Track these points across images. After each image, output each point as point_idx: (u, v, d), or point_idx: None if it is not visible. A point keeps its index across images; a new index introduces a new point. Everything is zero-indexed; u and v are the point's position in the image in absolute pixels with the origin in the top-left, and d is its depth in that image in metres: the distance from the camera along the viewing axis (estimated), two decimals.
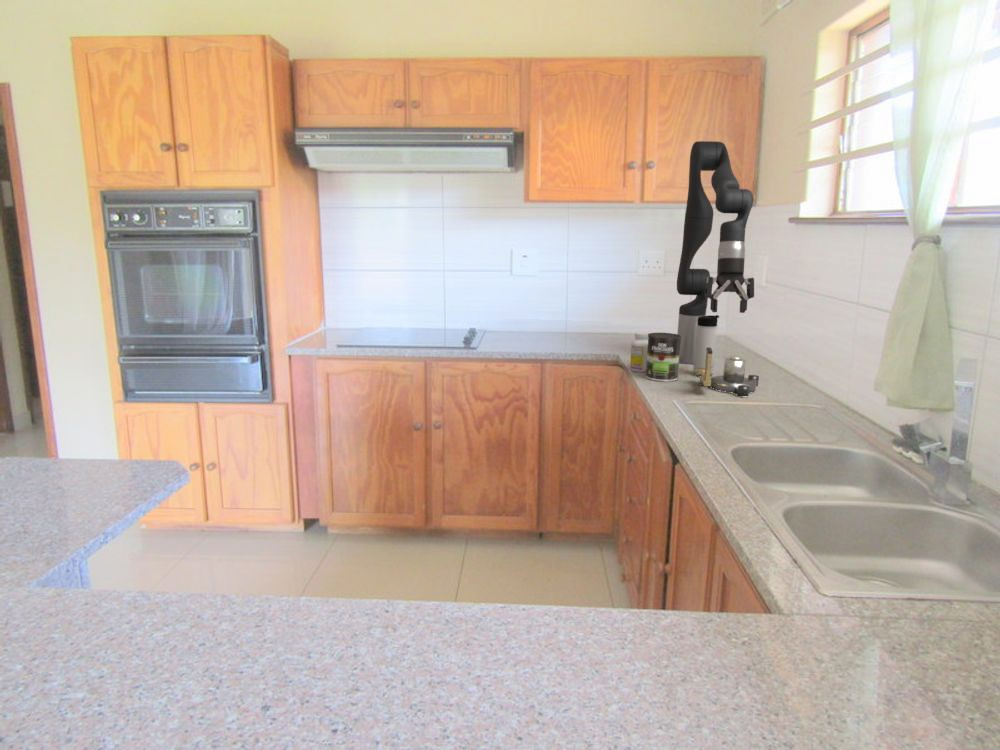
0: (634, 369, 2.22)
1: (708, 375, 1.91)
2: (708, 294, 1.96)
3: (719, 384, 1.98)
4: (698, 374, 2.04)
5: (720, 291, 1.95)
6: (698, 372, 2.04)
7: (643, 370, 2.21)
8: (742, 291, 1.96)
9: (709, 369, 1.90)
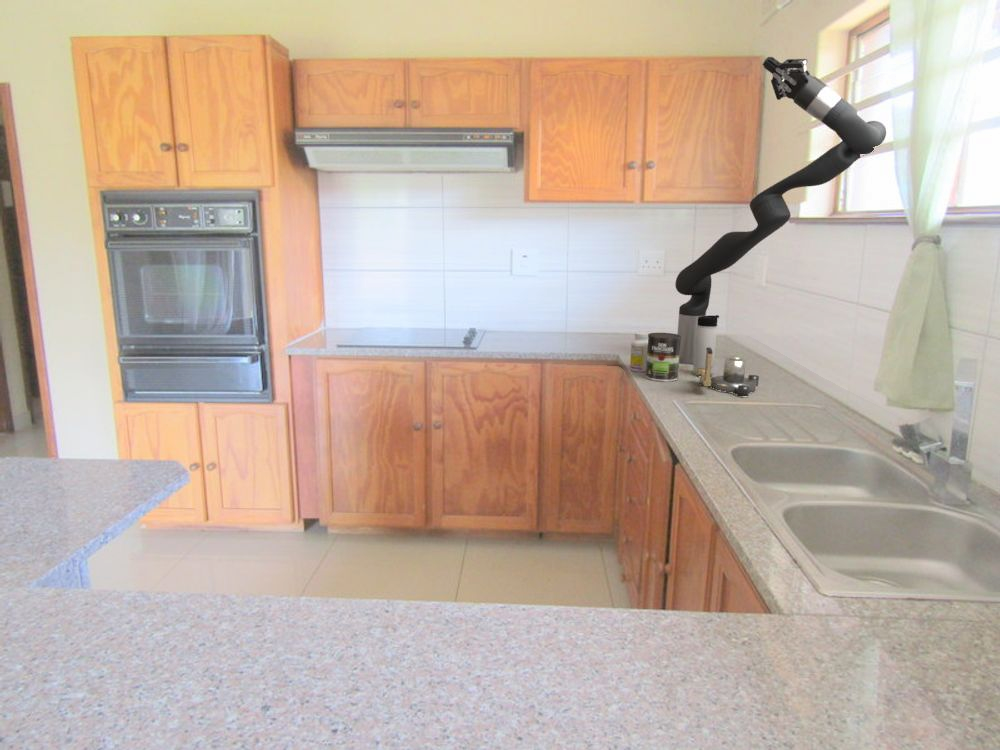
0: (634, 369, 2.22)
1: (708, 375, 1.91)
2: None
3: (719, 384, 1.98)
4: (698, 374, 2.04)
5: None
6: (698, 372, 2.04)
7: (643, 370, 2.21)
8: None
9: (709, 369, 1.90)
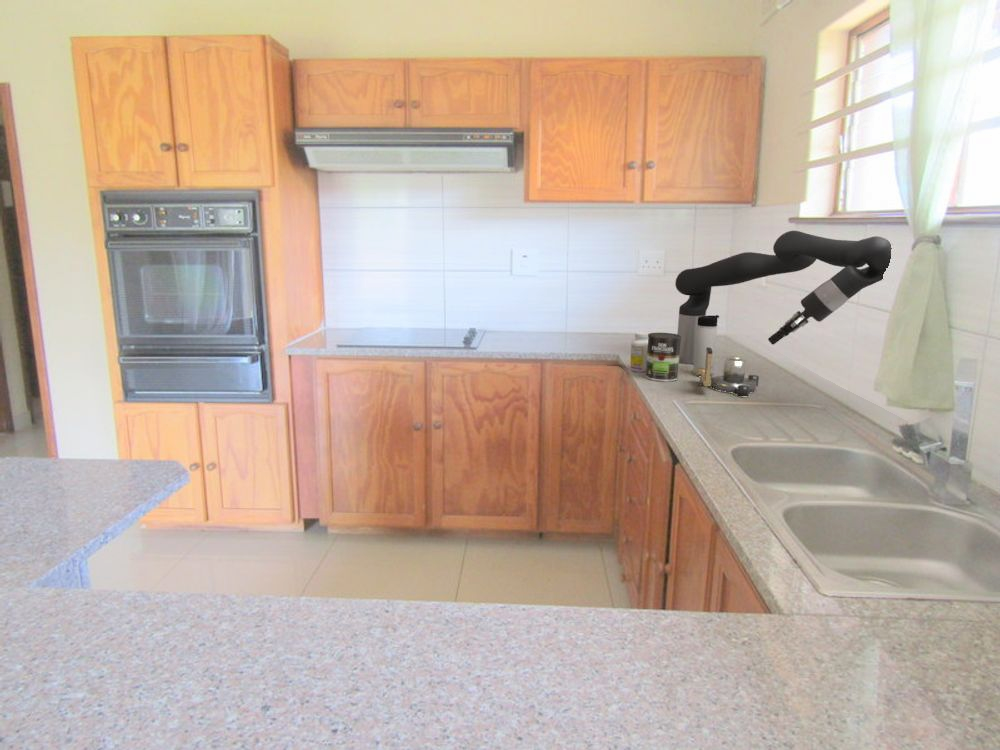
0: (634, 369, 2.22)
1: (708, 375, 1.91)
2: (784, 325, 1.82)
3: (719, 384, 1.98)
4: (698, 374, 2.04)
5: None
6: (698, 372, 2.04)
7: (643, 370, 2.21)
8: None
9: (709, 369, 1.90)
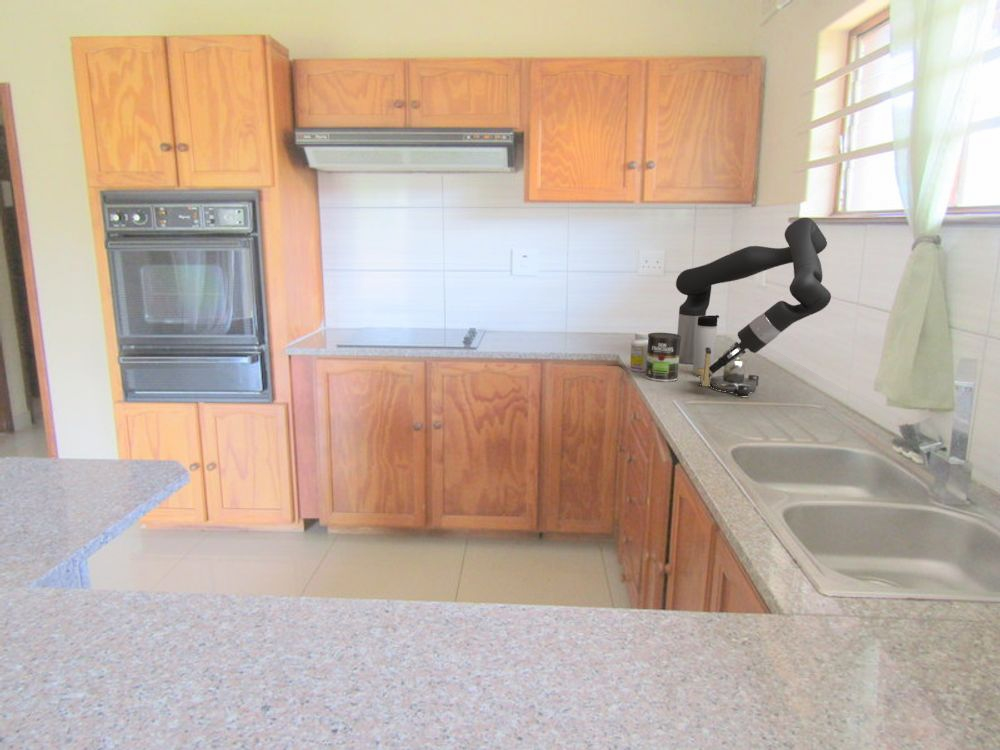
0: (634, 369, 2.22)
1: (706, 375, 1.91)
2: None
3: (719, 384, 1.98)
4: (698, 374, 2.04)
5: None
6: (698, 372, 2.04)
7: (643, 370, 2.21)
8: (724, 352, 1.88)
9: (707, 369, 1.91)
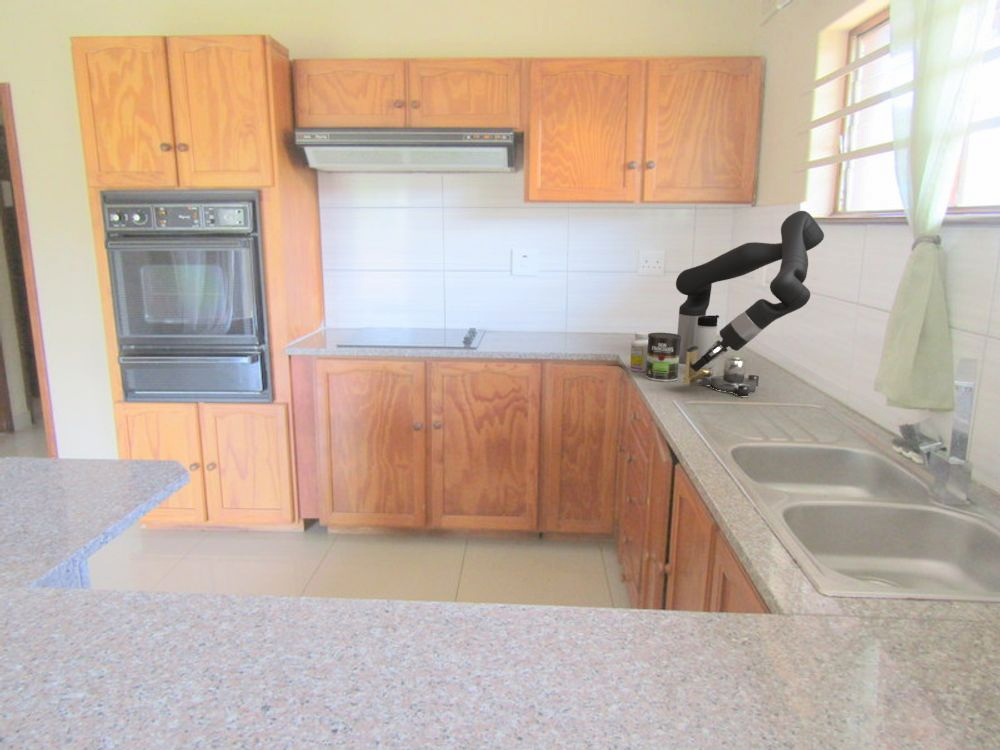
0: (634, 369, 2.22)
1: (687, 373, 1.93)
2: None
3: (719, 384, 1.98)
4: None
5: None
6: None
7: (643, 370, 2.21)
8: (707, 350, 1.90)
9: (688, 367, 1.93)
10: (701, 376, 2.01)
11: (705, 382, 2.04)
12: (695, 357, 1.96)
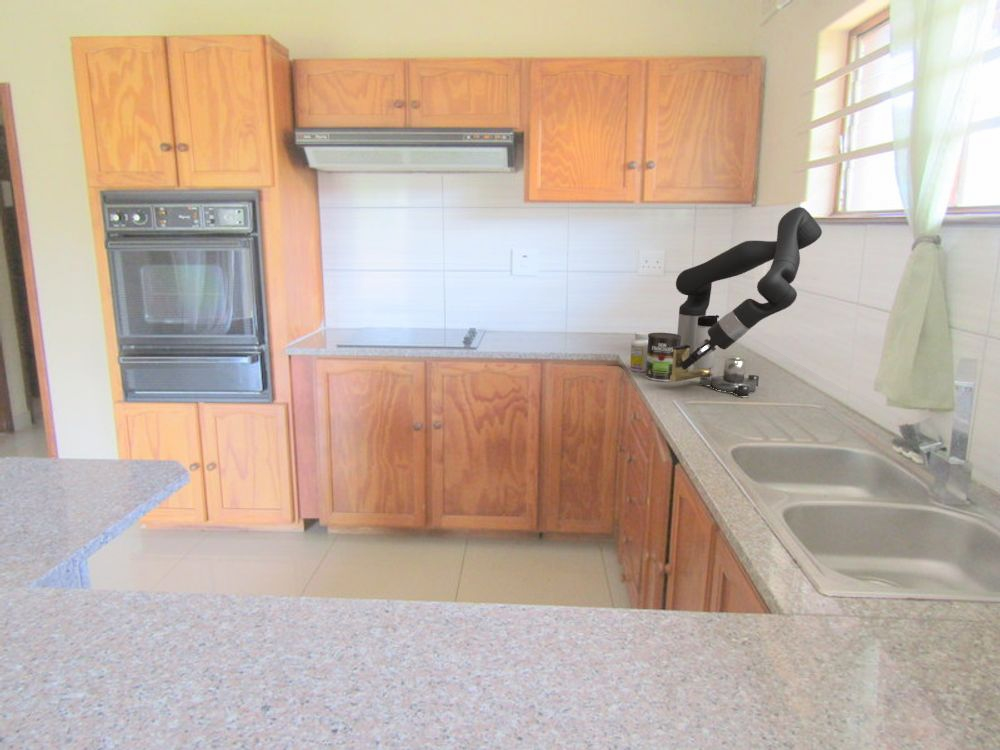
0: (634, 369, 2.22)
1: (673, 370, 1.96)
2: None
3: (719, 384, 1.98)
4: None
5: None
6: None
7: (643, 370, 2.21)
8: (695, 349, 1.93)
9: (674, 364, 1.96)
10: (696, 375, 2.02)
11: (705, 382, 2.04)
12: (685, 355, 1.98)
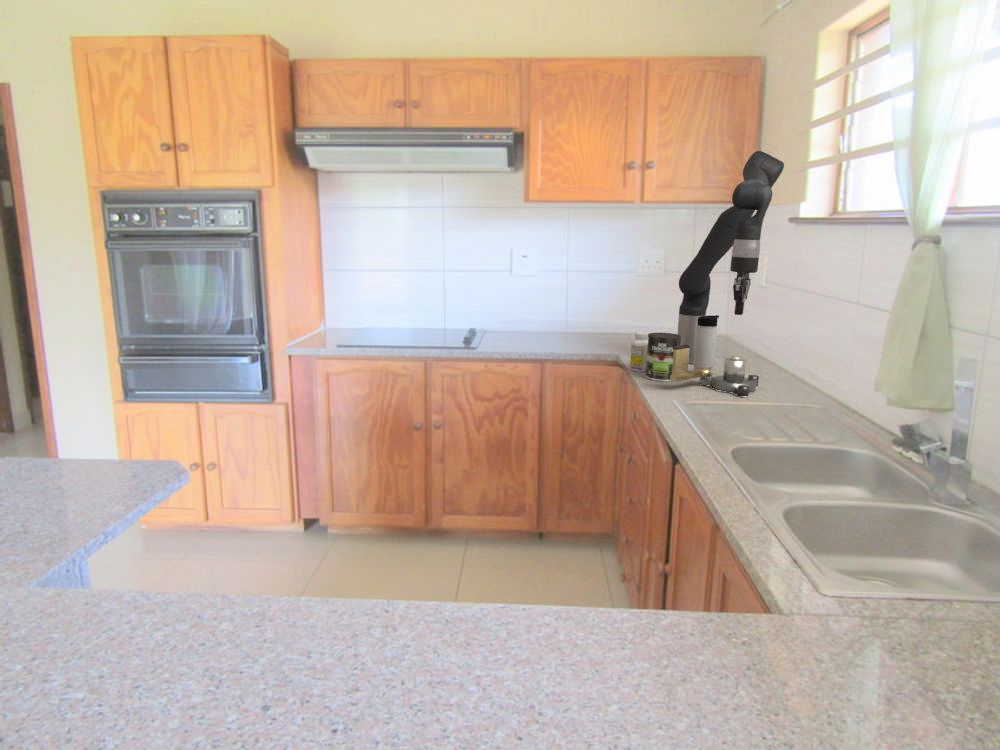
0: (634, 369, 2.22)
1: (673, 370, 1.96)
2: None
3: (719, 384, 1.98)
4: None
5: None
6: None
7: (643, 370, 2.21)
8: None
9: (674, 364, 1.96)
10: (696, 375, 2.02)
11: (705, 382, 2.04)
12: (685, 355, 1.98)
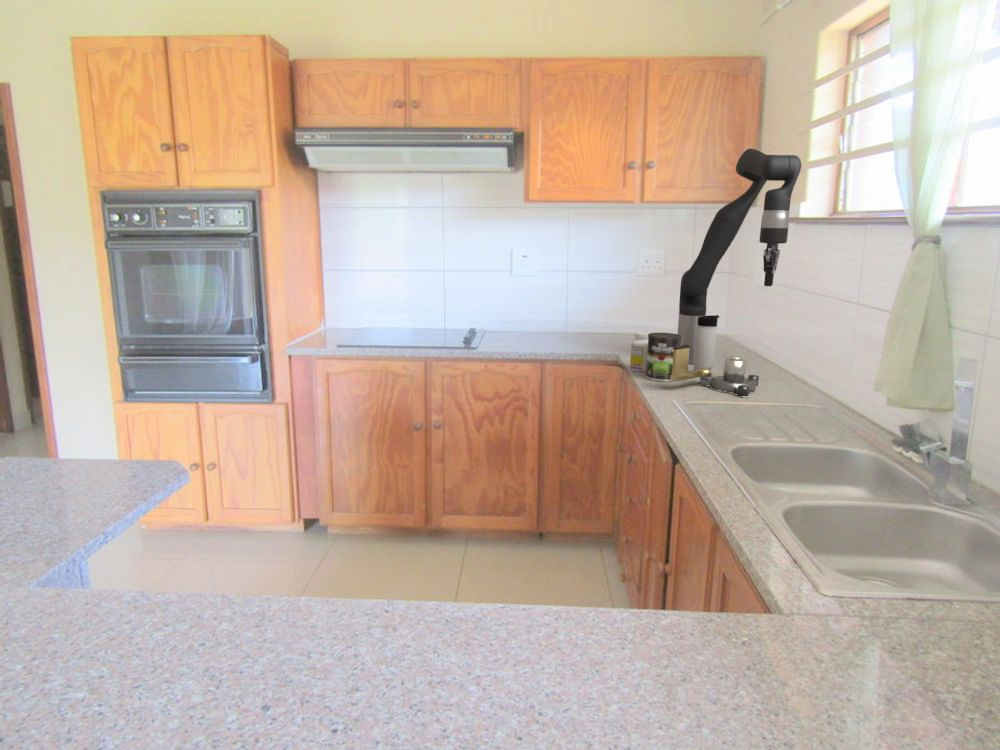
0: (634, 369, 2.22)
1: (673, 370, 1.96)
2: None
3: (719, 384, 1.98)
4: None
5: None
6: None
7: (643, 370, 2.21)
8: None
9: (674, 364, 1.96)
10: (696, 375, 2.02)
11: (705, 382, 2.04)
12: (685, 355, 1.98)
